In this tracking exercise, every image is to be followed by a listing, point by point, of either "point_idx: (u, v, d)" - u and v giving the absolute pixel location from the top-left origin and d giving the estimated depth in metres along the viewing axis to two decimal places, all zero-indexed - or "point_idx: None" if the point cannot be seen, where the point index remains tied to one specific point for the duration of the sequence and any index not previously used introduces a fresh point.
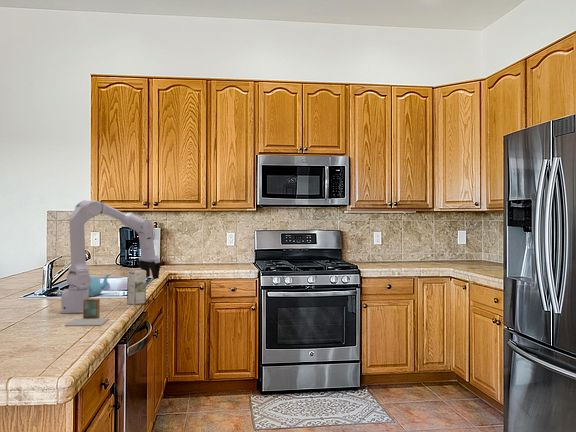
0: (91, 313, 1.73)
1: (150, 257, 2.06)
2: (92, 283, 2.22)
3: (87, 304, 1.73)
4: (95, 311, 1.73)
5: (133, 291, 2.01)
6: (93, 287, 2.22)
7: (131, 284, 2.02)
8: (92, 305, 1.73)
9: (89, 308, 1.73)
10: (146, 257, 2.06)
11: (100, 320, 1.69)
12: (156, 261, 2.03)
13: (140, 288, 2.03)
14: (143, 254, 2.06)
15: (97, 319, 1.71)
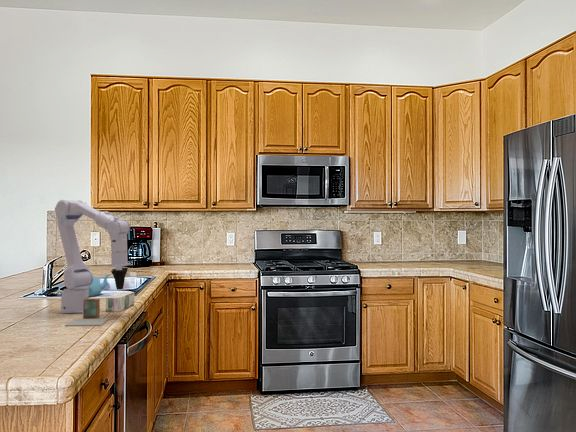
0: (91, 313, 1.73)
1: (117, 263, 1.77)
2: (92, 283, 2.22)
3: (87, 304, 1.73)
4: (95, 311, 1.73)
5: (126, 307, 1.95)
6: (93, 287, 2.22)
7: None
8: (92, 305, 1.73)
9: (89, 308, 1.73)
10: (113, 262, 1.77)
11: (100, 320, 1.69)
12: (117, 268, 1.72)
13: (127, 301, 1.94)
14: (111, 258, 1.78)
15: (97, 319, 1.71)
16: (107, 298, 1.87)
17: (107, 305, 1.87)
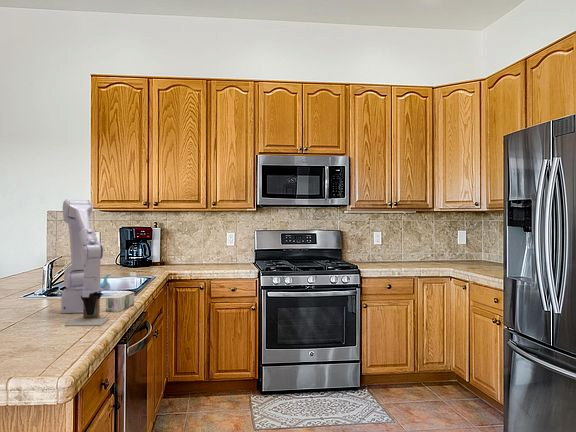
0: None
1: (87, 289, 1.72)
2: None
3: None
4: (95, 311, 1.73)
5: (126, 307, 1.95)
6: None
7: None
8: None
9: None
10: (84, 288, 1.72)
11: (100, 320, 1.69)
12: (83, 295, 1.67)
13: (127, 301, 1.94)
14: (83, 283, 1.73)
15: (97, 319, 1.71)
16: (107, 298, 1.87)
17: (107, 305, 1.87)
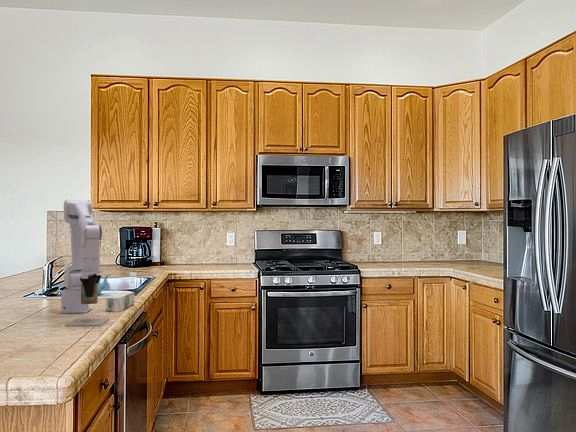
0: (88, 298, 1.69)
1: (86, 270, 1.67)
2: None
3: None
4: (93, 296, 1.69)
5: (126, 307, 1.95)
6: None
7: None
8: None
9: None
10: (83, 269, 1.68)
11: (100, 320, 1.69)
12: (82, 276, 1.63)
13: (127, 301, 1.94)
14: (82, 265, 1.69)
15: (97, 319, 1.71)
16: (107, 298, 1.87)
17: (107, 305, 1.87)
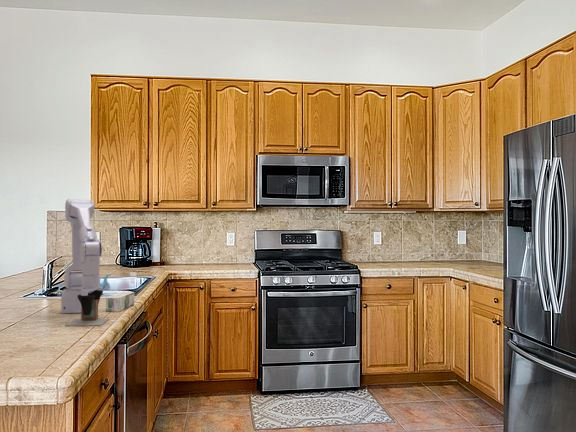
0: None
1: (86, 287, 1.67)
2: None
3: None
4: (93, 312, 1.69)
5: (126, 307, 1.95)
6: None
7: None
8: None
9: None
10: (83, 286, 1.68)
11: (100, 320, 1.69)
12: (82, 293, 1.63)
13: (127, 301, 1.94)
14: (82, 281, 1.69)
15: (97, 319, 1.71)
16: (107, 298, 1.87)
17: (107, 305, 1.87)
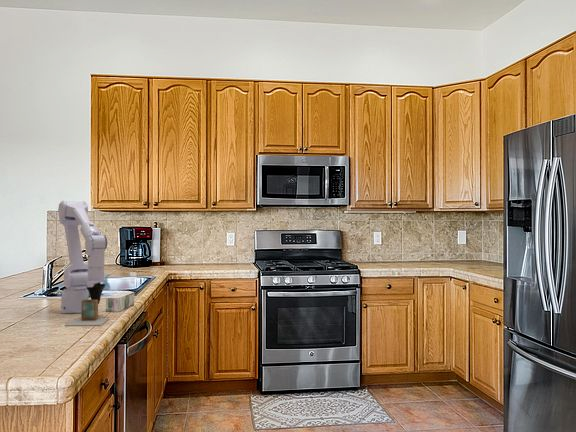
0: (89, 314, 1.69)
1: (91, 279, 1.73)
2: None
3: (85, 305, 1.69)
4: (93, 312, 1.69)
5: (126, 307, 1.95)
6: None
7: None
8: (90, 306, 1.69)
9: (87, 309, 1.69)
10: (88, 278, 1.74)
11: (100, 320, 1.69)
12: (88, 285, 1.69)
13: (127, 301, 1.94)
14: (87, 274, 1.75)
15: (97, 319, 1.71)
16: (107, 298, 1.87)
17: (107, 305, 1.87)
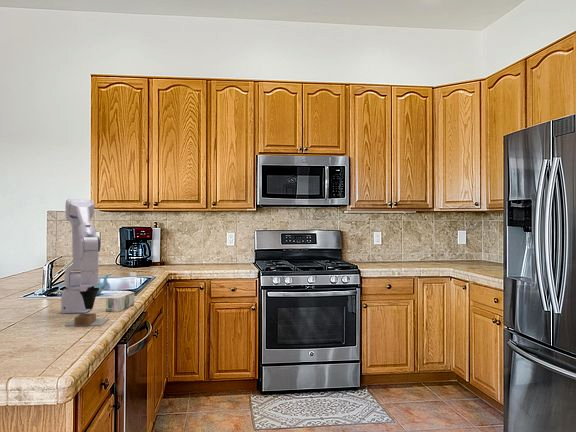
0: None
1: (84, 283, 1.66)
2: None
3: None
4: None
5: (126, 307, 1.95)
6: None
7: None
8: None
9: None
10: (81, 282, 1.66)
11: (100, 320, 1.69)
12: (80, 289, 1.61)
13: (127, 301, 1.94)
14: (80, 277, 1.67)
15: (97, 319, 1.71)
16: (107, 298, 1.87)
17: (107, 305, 1.87)
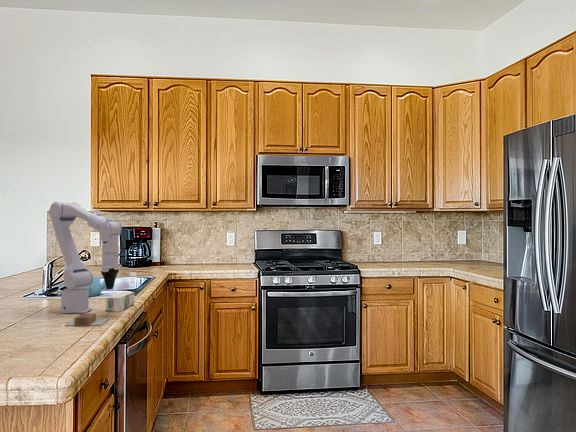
0: None
1: (106, 264, 1.78)
2: (92, 283, 2.22)
3: None
4: None
5: (126, 307, 1.95)
6: (93, 287, 2.22)
7: None
8: None
9: None
10: (103, 263, 1.78)
11: (100, 320, 1.69)
12: (103, 269, 1.73)
13: (127, 301, 1.94)
14: (102, 259, 1.79)
15: (97, 319, 1.71)
16: (107, 298, 1.87)
17: (107, 305, 1.87)
